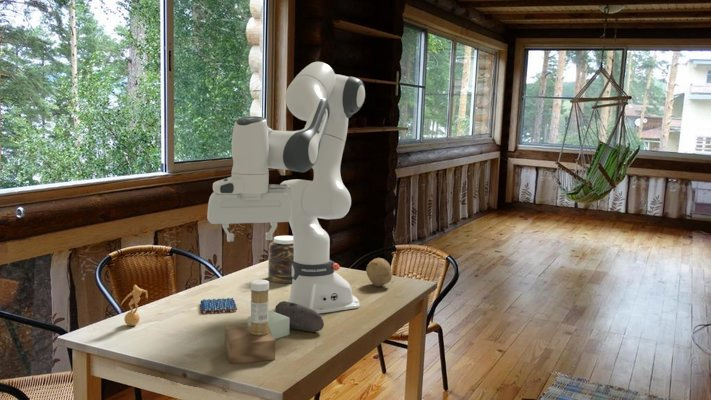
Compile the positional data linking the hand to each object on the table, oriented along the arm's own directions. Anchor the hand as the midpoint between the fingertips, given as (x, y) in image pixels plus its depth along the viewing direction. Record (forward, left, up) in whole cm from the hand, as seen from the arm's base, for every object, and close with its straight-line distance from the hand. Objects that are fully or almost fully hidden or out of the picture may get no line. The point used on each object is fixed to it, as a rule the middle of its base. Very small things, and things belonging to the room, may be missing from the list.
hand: (249, 240), depth 155 cm
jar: (-22, -64, -29) cm, 74 cm away
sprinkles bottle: (-3, 0, -24) cm, 24 cm away
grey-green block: (-7, -12, -29) cm, 32 cm away
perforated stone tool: (-16, -14, -29) cm, 36 cm away
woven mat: (+4, -37, -30) cm, 48 cm away
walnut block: (0, 0, -29) cm, 29 cm away
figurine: (+28, -26, -29) cm, 48 cm away
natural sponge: (-52, -49, -29) cm, 77 cm away
